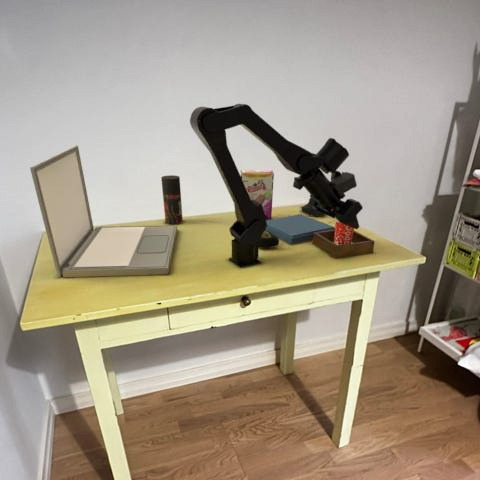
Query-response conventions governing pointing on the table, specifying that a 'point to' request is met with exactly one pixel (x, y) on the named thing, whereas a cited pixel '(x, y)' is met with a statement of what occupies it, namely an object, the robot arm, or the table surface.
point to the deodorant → (172, 199)
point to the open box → (357, 246)
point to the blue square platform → (296, 228)
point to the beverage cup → (342, 233)
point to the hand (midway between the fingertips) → (349, 223)
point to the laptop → (82, 232)
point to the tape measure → (268, 240)
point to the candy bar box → (260, 187)
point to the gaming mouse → (311, 210)
